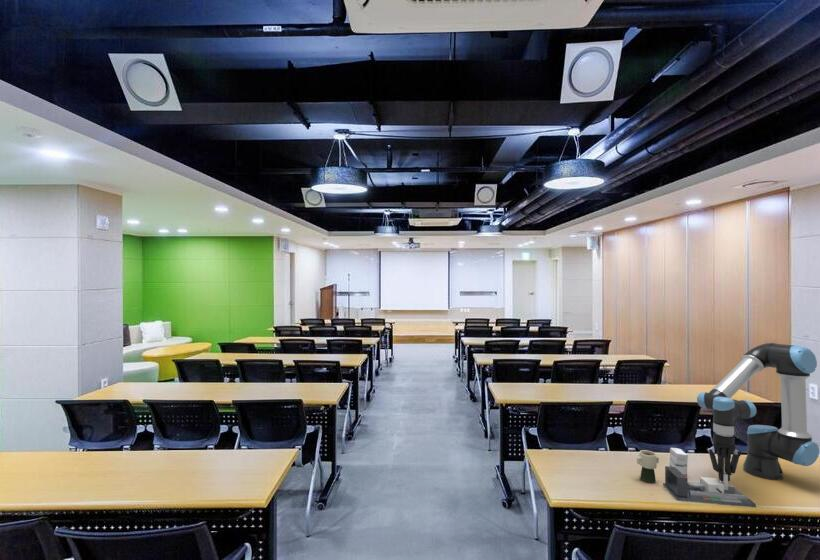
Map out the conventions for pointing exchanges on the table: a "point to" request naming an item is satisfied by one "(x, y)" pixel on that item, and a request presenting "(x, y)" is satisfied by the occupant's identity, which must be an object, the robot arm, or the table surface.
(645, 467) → the character mug
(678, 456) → the ink box
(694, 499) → the gauge bed
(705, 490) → the gauge carriage
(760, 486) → the table surface
